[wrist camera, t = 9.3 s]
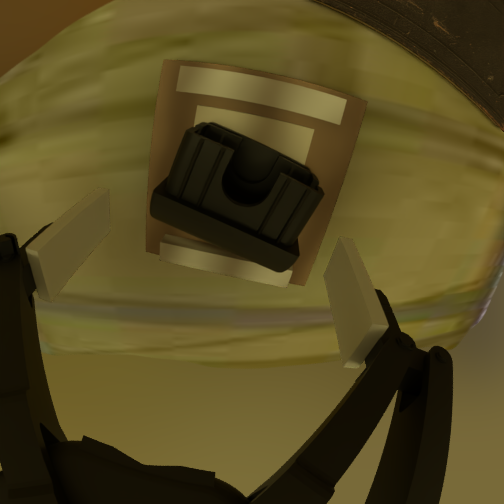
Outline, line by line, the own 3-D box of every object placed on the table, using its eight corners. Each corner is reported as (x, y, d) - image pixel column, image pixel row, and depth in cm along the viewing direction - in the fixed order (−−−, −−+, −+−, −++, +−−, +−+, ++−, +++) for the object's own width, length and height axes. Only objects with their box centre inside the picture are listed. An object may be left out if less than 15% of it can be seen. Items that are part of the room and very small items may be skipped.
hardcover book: (493, 128, 20) (506, 133, 18) (301, 1, 17) (303, -7, 15) (524, 30, 11) (536, 30, 10) (354, -94, 8) (359, -104, 6)
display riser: (154, 239, 29) (140, 260, 26) (173, 61, 20) (156, 58, 16) (302, 271, 30) (305, 296, 27) (359, 100, 21) (373, 102, 17)
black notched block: (171, 194, 24) (139, 231, 18) (202, 117, 20) (173, 129, 14) (277, 241, 25) (277, 291, 20) (318, 172, 22) (334, 205, 16)
